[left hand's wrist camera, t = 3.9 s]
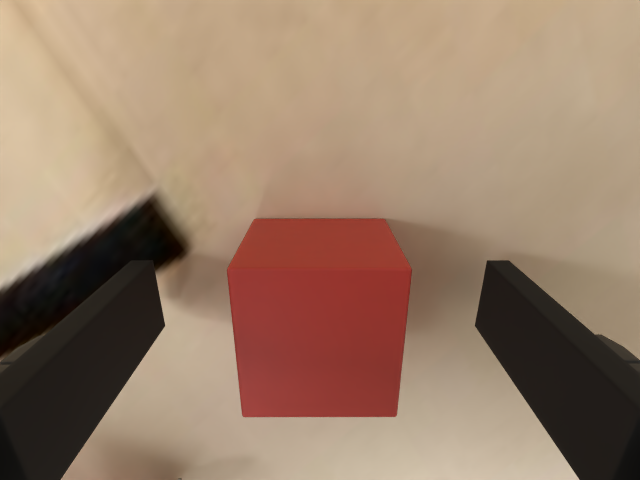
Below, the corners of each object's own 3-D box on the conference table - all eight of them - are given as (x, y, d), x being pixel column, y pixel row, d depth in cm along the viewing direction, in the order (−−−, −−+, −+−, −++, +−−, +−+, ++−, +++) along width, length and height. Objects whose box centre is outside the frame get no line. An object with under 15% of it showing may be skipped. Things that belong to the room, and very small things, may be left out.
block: (377, 335, 15) (397, 418, 11) (261, 335, 15) (241, 418, 11) (385, 218, 13) (413, 268, 9) (253, 218, 13) (225, 268, 9)
